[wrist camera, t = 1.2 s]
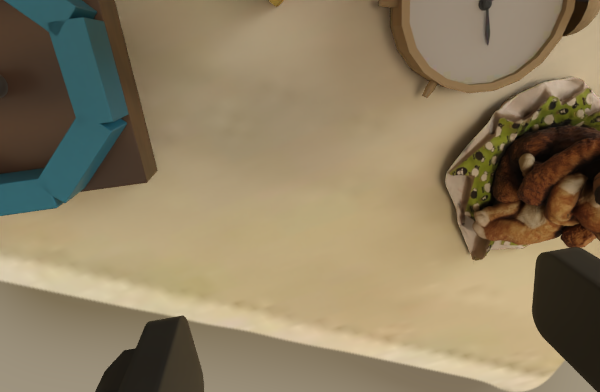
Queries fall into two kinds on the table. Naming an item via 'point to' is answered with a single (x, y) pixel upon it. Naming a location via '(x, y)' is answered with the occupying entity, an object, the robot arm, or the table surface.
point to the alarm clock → (482, 38)
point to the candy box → (276, 2)
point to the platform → (62, 102)
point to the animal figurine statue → (532, 171)
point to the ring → (85, 101)
